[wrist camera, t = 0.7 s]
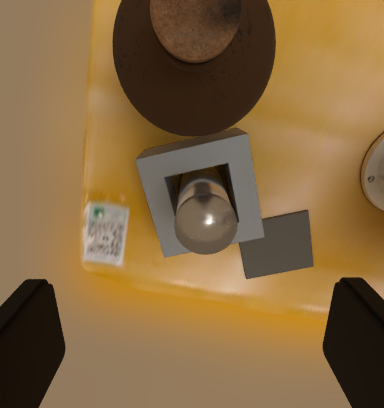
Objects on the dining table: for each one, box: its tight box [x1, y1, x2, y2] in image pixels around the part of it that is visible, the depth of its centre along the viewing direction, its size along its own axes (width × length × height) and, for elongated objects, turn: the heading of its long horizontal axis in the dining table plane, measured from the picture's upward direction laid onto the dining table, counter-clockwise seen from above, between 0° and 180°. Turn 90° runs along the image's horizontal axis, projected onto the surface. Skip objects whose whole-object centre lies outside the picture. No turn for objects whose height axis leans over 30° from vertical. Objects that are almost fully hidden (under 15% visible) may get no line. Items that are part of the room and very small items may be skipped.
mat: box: [239, 210, 313, 279], centre depth 40 cm, size 10×9×1 cm
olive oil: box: [113, 0, 276, 136], centre depth 21 cm, size 11×11×25 cm
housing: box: [135, 128, 264, 258], centre depth 34 cm, size 12×12×7 cm
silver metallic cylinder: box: [174, 167, 237, 255], centre depth 31 cm, size 6×6×14 cm
